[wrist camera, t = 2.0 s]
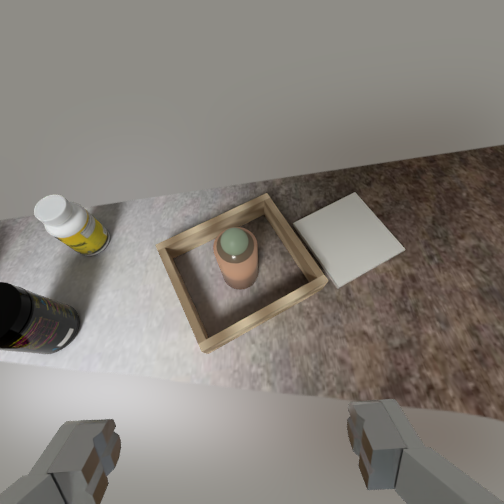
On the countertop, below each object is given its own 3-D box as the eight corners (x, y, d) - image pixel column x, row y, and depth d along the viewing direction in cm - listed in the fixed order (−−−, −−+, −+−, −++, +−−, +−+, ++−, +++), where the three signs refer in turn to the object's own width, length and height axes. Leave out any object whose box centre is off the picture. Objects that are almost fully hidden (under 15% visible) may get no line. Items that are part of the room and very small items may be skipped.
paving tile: (353, 194, 45) (355, 192, 44) (402, 251, 40) (405, 249, 40) (292, 225, 43) (293, 222, 42) (337, 288, 38) (339, 287, 37)
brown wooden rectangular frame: (266, 207, 44) (266, 192, 41) (321, 289, 38) (328, 280, 35) (164, 256, 41) (155, 245, 37) (207, 353, 35) (201, 351, 31)
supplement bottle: (70, 252, 42) (18, 220, 33) (87, 223, 44) (43, 185, 35) (101, 260, 41) (57, 229, 32) (117, 230, 43) (79, 193, 34)
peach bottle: (247, 250, 41) (243, 207, 30) (264, 278, 39) (266, 243, 28) (217, 266, 40) (201, 227, 29) (232, 295, 38) (222, 265, 27)
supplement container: (52, 298, 39) (-15, 273, 29) (91, 313, 38) (35, 293, 28) (21, 344, 36) (-64, 334, 27) (62, 362, 35) (-10, 358, 26)
